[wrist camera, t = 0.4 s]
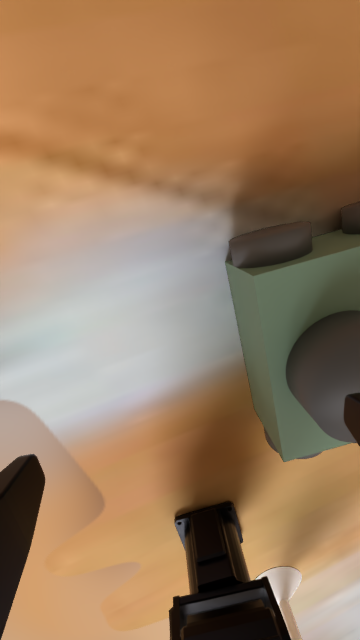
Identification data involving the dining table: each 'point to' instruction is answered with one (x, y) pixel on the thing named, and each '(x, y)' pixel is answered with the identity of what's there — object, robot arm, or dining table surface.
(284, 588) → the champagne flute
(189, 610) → the robot arm
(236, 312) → the green wheeled block
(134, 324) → the dining table surface
